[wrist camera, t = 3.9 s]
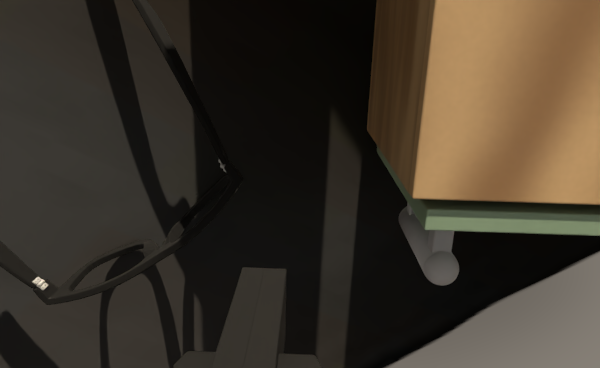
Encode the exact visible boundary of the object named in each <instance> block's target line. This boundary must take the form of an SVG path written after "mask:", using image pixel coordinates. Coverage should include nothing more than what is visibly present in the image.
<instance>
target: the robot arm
mask: <svg viewBox="0 0 600 368" xmlns="http://www.w3.org/2000/svg"><path fill="white" fill-rule="evenodd" d="M286 275H287V269H275V268H248V267H243V268H242V271H241V274H240V277H239V281H238V284H237V287H236V290H235V293H234V296H233V300H232V303H231V306H230V309H229V312H228V316H227V319H226V322H225V325H224V328H223V331H222V335H221V338H220V341H219V344H218V347H217V350H216V352H204V351H187V352H186V353H185V354H184V355H183V356H182V357H181V358H180V359H179V360H178V361H177V362H176V363H175V364H174V366H173V368H322V366H321V365H320V363H319V361H318V360H317V358H316V356H315V355H306V354H284V345H285V328H286Z"/></svg>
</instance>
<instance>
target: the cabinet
mask: <svg viewBox="0 0 600 368" xmlns="http://www.w3.org/2000/svg"><path fill="white" fill-rule="evenodd" d="M367 131H368V132H369V134H370V135H371V137H372V138H373V140H374V141H375V143H376V144H377V146H378V148H379V149H380V151H381V152H382V154H383V155H384V157H385V158H386V160H387V161H388V163H389V164H390V166H391V167H392V169H393V170H394V172H395V173H396V175H397V176H398V178H399V179H400V181H401V182H402V184H403V186H404V187H405V189H406V190H407V192H408V193H409V194H410V195H411V197H412V198H413V199H429V200H460V201H490V202H521V203H552V204H583V205H600V0H377V4H376V17H375V30H374V43H373V56H372V69H371V82H370V95H369V108H368V121H367Z"/></svg>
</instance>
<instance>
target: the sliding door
mask: <svg viewBox="0 0 600 368" xmlns="http://www.w3.org/2000/svg"><path fill="white" fill-rule="evenodd" d="M377 153H378V155H379V156H380V158H381V160H382V161H383V163H384V164H385V166H386V168H387V169H388V171H389V173H390V174H391V176H392V177H393V179H394V181H395V182H396V184H397V186H398V187H399V189H400V190H401V192H402V194H403V195H404V197H405V199H406V200H407V207H405V208H404V209H403V210H402V211H401V212H400V214H399V224H400V226H401V228H402V230H403V232H404V234H405V236H406V238H407V240H408V242H409V244H410V246H411V248H412V250H413V252H414V254H415V256H416V258H417V260H418V262H419V264H420V266H421V268H422V270H423V272H424V274H425V276H426V277H427V279H428V280H429V281H430V282H432V283H434V284H436V285H448V284H450V283H452V282H453V281H454V280H455V279H456V278H457V276H458V273H459V264H458V262H457V259H456V258H455V256H454V255H453V254H452V252H451V250H452V244H453V237H454V231H468V232H498V233H527V234H557V235H587V236H600V205H583V204H552V203H521V202H490V201H460V200H429V199H413V198H412V197H411V195H410V194H409V193H408V192H407V190H406V189H405V187H404V186H403V184H402V182H401V181H400V179H399V178H398V176H397V175H396V173H395V172H394V170H393V169H392V167H391V166H390V164H389V163H388V161H387V160H386V158H385V157H384V155H383V154H382V152H381V151H380V149H379V148H378V146H377Z"/></svg>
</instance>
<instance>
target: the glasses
mask: <svg viewBox="0 0 600 368" xmlns="http://www.w3.org/2000/svg"><path fill="white" fill-rule="evenodd" d="M132 1H133V2H134V4H135V6H136V8H137V9H138V11H139V13H140V15H141V16H142V18H143V20H144V21H145V23H146V25H147V27H148V28H149V30H150V32H151V34H152V35H153V37H154V39H155V41H156V42H157V44H158V46H159V48H160V50H161V52H162V53H163V55H164V57H165V59H166V61H167V63H168V64H169V66H170V68H171V70H172V72H173V73H174V75H175V77H176V79H177V81H178V83H179V85H180V86H181V88H182V90H183V92H184V94H185V96H186V97H187V99H188V101H189V103H190V104H191V106H192V108H193V110H194V111H195V113H196V115H197V117H198V118H199V120H200V122H201V124H202V126H203V128H204V130H205V132H206V134H207V136H208V137H209V139H210V141H211V143H212V145H213V147H214V149H215V151H216V153H217V155H218V157H219V161H218V162H219V163H220V164H221V165H220V167H221V168H223V171H225V172H226V173H227V174H226V175H224V176H223V177H222V178H221V179H220V180H219V181H218V182H217V183H216V184H215V185H214V186H213V187H212V188H211V189H210V190H209V191H208V192H207V193H205V194H204V195H203V196H202V197H201V198H200V199H199V200H198V201H197V203H196V204H195V205H194V206H193V207H192V208H191V209H190V210H189V211H188V212H187V213H186V214H185V215H184V217H183V218H182V219H181V220H179V221H178V222H177V223H176V224H175V225H174V226H173V227H172V229H171V230H170V232H169V234H168V236H167V238H166V239H165V241H164V243H163V244H162V246H161V248H159V246H158V245H157V244H156V243H155V242H154V241H152V240H149V239H145V240H140V241H136V242H133V243H130V244H127V245H124V246H122V247H119V248H117V249H114V250H112V251H110V252H107V253H105V254H103V255H101V256H99V257H97V258H95V259H93V260H92V261H90V262H89V263H87V264H86V265H85V266H83V267H82V268H81V269H79V270H78V271H77V272H76V273H75V274H74V275H73V276H71V277H70V278H69V279H68V280H67V281H66V282H65V283H64V284H63V285H62V286H60V287H59V288H58V287H57V286H55V285H54V284H53V283H51V282H50V281H49V280H43V279H41V278H40V277H39V276H38V275H37V274H36V273H35V272H34V271H33V270H32V269H30V268H29V267H28V266H27V265H26V264H25V263H24V262H23V261H22V260H20V259H19V258H18V257H17V256H16V255H15V254H14V253H13V252H12V251H11V250H9V249H8V248H7V247H6V246H5V245H4V244H3V243H2V242H1V241H0V266H1V267H2V268H4V269H5V270H6V271H8V272H9V273H10V274H12V275H13V276H15V277H16V278H17V279H19V280H20V281H22V282H23V283H25V284H26V285H28V286H29V287H31V288H34V289H33V291H34V292H35V293H36V295H37V296H38V297H39V298H40V299H41V300H42V301H43V302H44V303H45V304H46V305H51V304H58V303H64V302H69V301H73V300H78V299H82V298H85V297H89V296H92V295H95V294H98V293H101V292H103V291H106V290H108V289H111V288H113V287H115V286H117V285H120V284H122V283H124V282H125V281H127V280H129V279H131V278H133V277H134V276H136V275H138V274H140V273H141V272H143V271H144V270H146V269H148V268H149V267H151V266H152V265H154V264H156V263H157V262H159V261H160V260H162V259H164V258H165V257H167V256H169V255H170V254H172V253H174V252H175V251H177V250H178V249H180V248H181V247H183V246H184V245H185V244H187V243H188V242H189V241H191V240H192V239H193V238H194V237H195V236H197V235H198V234H199V233H200V232H201V231H202V230H203V229H204V228H205V227H206V226H207V225H208V224H209V223H210V222H211V221H212V220H213V219H214V218H215V217H216V215H217V214H218V213H219V212H220V211H221V210H222V208H223V207H224V206H225V205H226V204H227V202H228V201H229V200H230V198H231V197H232V196H233V194H234V193H235V192H236V191H237V190H238V188H239V186H240V184H241V183H242V181H243V177H242V175H241V174H240V172H239V171H238V170H237V169H236V167H235V166H234V165H233V164H232V163H231V162H230V161H228V158H227V155H226V153H225V151H224V149H223V146H222V144H221V142H220V140H219V138H218V135H217V133H216V131H215V129H214V127H213V125H212V122H211V120H210V118H209V116H208V114H207V112H206V110H205V108H204V106H203V104H202V102H201V100H200V98H199V96H198V94H197V92H196V89H195V87H194V85H193V83H192V81H191V79H190V77H189V75H188V73H187V70H186V68H185V66H184V64H183V62H182V60H181V58H180V56H179V54H178V52H177V50H176V48H175V46H174V44H173V42H172V40H171V38H170V36H169V35H168V33H167V31H166V29H165V27H164V25H163V23H162V21H161V20H160V18H159V17H158V15H157V14H156V12H155V11H154V10H153V8H152V7H151V6H150V4H149V3H148V2H147V0H132ZM225 164H226V165H225ZM228 183H229V184H228ZM227 184H228V186H227V188H226V190H225V192H224V193H223V194H222V196H221V197H220V199H219V200H218V201H217V202H216V204H215V205H214V206H213V207H212V208H211V209H210V210H209V212H208V213H207V214H206V215H205V216H204V217H203V218H202V219H201V220H200V221H199V222H198V223H197V224H196V225H195V226H194V227H193V228H192V229H190V230H189V231H188V232H187V233H186V234H185V235H183V236H182V237H181V238H180V236H181V235H182V233H183V231H184V230H185V228H186V227H187V225H188V224H189V223H190V221H191V220H192V219H193V218H194V216H195V215H196V214H197V213H198V212H199V211H200V210H201V209H202V208H203V207H204V206H205V205H206V204H207V203H208V202H209V201H210V200H211V199H212V198H213V197H214V196H215V195H216V194H217V193H218V192H219V191H220V190H221V189H222V188H223V187H225V186H226V185H227ZM143 248H144V249H143ZM138 249H143V254H144V259H143V260H142V261H141V262H140V263H139V264H137V265H136V266H134V267H133V268H131V269H130V270H128V271H126V272H125V273H123V274H121V275H119V276H117V277H114V278H112V279H110V280H108V281H105V282H103V283H100V284H97V285H94V286H91V287H88V288H84V289H81V290H75V291H73V290H74V289H75V287H76V286H77V285H78V284H79V283H80V281H81V280H82V279H83V278H84V277H85V276H86V275H87V274H88V273H89V272H90V271H91V270H92V269H94V268H95V267H97V266H99V265H101V264H103V263H105V262H107V261H109V260H111V259H114V258H116V257H119V256H121V255H124V254H126V253H129V252H132V251H135V250H138Z"/></svg>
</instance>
